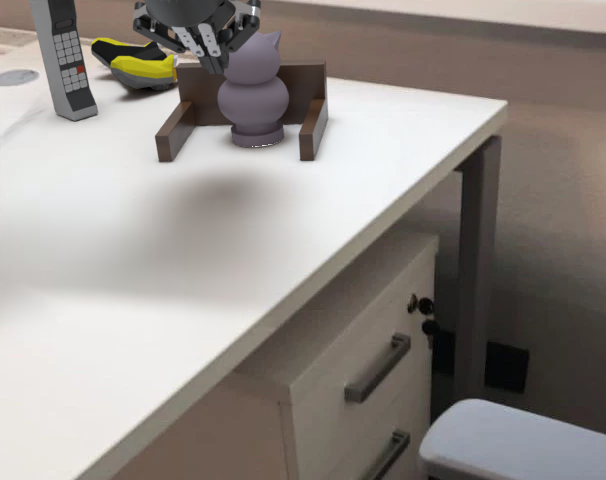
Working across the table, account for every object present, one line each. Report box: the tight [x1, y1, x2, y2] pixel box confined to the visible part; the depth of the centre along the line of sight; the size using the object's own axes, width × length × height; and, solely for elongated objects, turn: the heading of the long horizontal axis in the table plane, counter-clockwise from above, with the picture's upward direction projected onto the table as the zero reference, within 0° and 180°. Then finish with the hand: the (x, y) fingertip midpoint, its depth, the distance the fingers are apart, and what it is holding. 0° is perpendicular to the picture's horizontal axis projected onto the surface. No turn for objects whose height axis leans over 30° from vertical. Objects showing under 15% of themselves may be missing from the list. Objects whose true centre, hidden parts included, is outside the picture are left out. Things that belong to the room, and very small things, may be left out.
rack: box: [154, 58, 329, 163], centre depth 104 cm, size 14×18×7 cm
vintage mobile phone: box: [28, 0, 99, 122], centre depth 110 cm, size 4×5×25 cm
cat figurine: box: [218, 29, 289, 148], centre depth 103 cm, size 8×8×12 cm
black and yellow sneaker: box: [90, 37, 179, 91], centre depth 125 cm, size 15×6×10 cm
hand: (217, 65), depth 92 cm, fingers closed
